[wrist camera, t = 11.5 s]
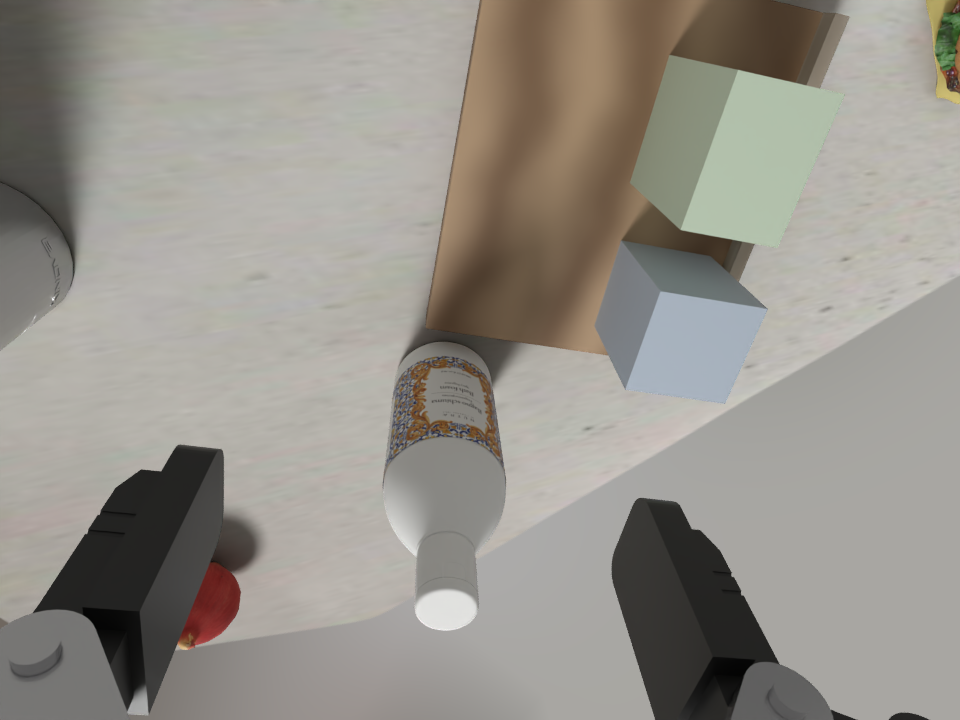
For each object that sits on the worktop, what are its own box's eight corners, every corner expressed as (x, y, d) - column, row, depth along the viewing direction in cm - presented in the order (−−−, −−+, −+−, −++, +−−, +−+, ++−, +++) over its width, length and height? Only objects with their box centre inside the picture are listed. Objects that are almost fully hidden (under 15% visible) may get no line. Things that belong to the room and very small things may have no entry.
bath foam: (503, 350, 45) (544, 569, 28) (475, 428, 48) (497, 668, 31) (407, 328, 44) (387, 543, 26) (385, 409, 47) (355, 649, 29)
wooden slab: (426, 315, 43) (425, 336, 40) (490, -64, 33) (495, -70, 30) (686, 354, 46) (703, 377, 43) (822, 16, 36) (854, 17, 33)
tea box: (629, 182, 38) (680, 230, 30) (669, 54, 34) (738, 70, 27) (710, 198, 38) (780, 248, 31) (756, 74, 35) (848, 95, 27)
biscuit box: (594, 326, 42) (625, 389, 35) (621, 240, 39) (660, 291, 32) (680, 339, 43) (727, 404, 36) (712, 256, 40) (770, 309, 33)
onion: (213, 598, 55) (181, 684, 48) (163, 560, 53) (122, 644, 46) (264, 570, 54) (239, 654, 47) (216, 530, 52) (182, 612, 45)
